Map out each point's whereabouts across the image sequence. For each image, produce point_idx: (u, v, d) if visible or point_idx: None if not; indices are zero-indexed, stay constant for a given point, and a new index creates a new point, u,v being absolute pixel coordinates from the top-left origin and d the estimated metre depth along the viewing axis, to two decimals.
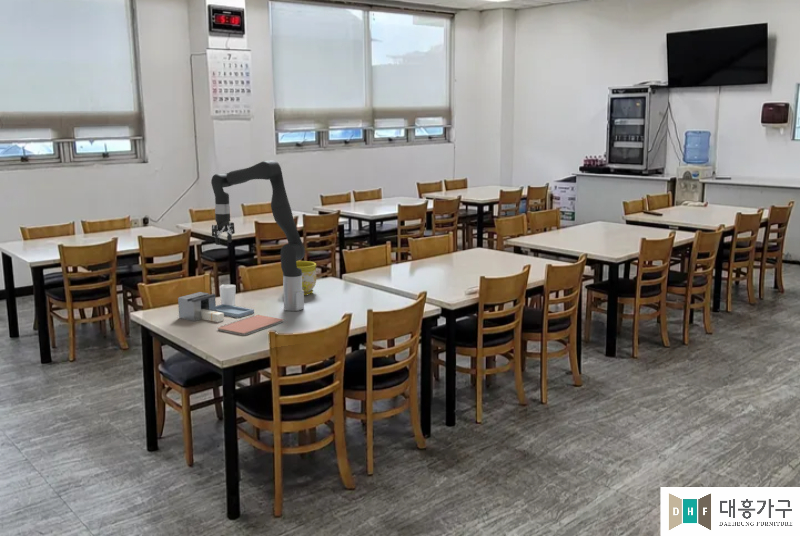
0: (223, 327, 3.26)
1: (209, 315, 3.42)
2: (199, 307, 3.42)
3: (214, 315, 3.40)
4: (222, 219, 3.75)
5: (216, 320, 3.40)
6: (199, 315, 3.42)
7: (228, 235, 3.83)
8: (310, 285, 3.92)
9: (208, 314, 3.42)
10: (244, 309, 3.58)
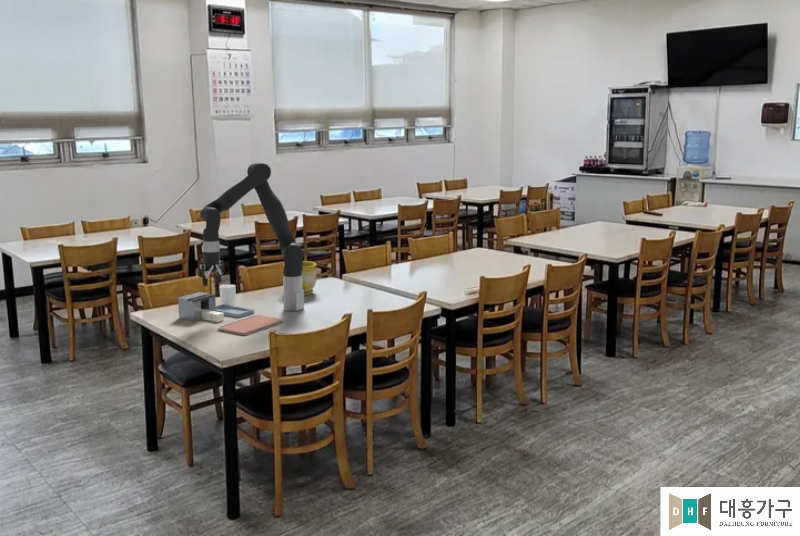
0: (223, 327, 3.26)
1: (209, 315, 3.42)
2: (199, 307, 3.42)
3: (214, 315, 3.40)
4: (211, 258, 3.35)
5: (216, 320, 3.40)
6: (199, 315, 3.42)
7: (217, 275, 3.44)
8: (310, 285, 3.92)
9: (208, 314, 3.42)
10: (244, 309, 3.58)
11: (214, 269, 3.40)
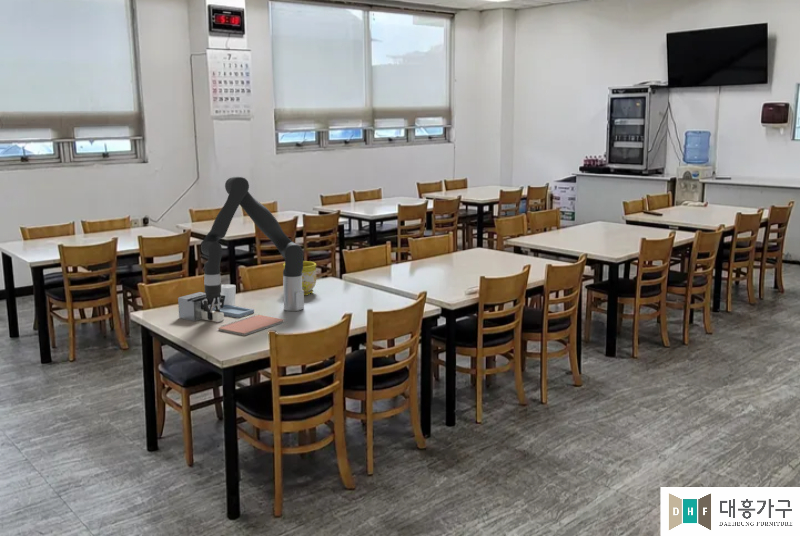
0: (224, 327, 3.26)
1: None
2: (199, 307, 3.42)
3: (214, 315, 3.40)
4: (212, 291, 3.37)
5: (216, 320, 3.40)
6: (199, 315, 3.42)
7: (216, 310, 3.44)
8: (310, 285, 3.92)
9: None
10: (244, 309, 3.58)
11: (216, 302, 3.42)
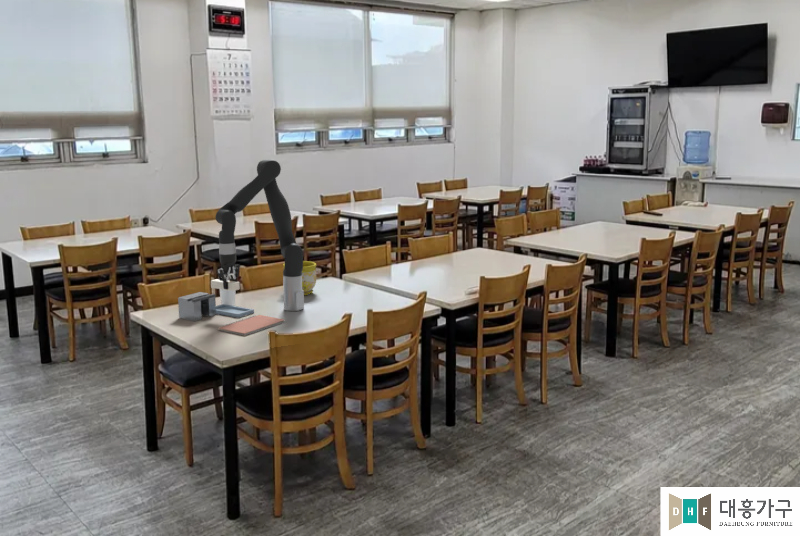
0: (224, 327, 3.26)
1: None
2: (199, 307, 3.42)
3: (230, 284, 3.41)
4: (228, 260, 3.38)
5: (232, 289, 3.41)
6: (199, 315, 3.42)
7: (231, 279, 3.45)
8: (310, 285, 3.92)
9: None
10: (244, 309, 3.58)
11: (231, 271, 3.42)
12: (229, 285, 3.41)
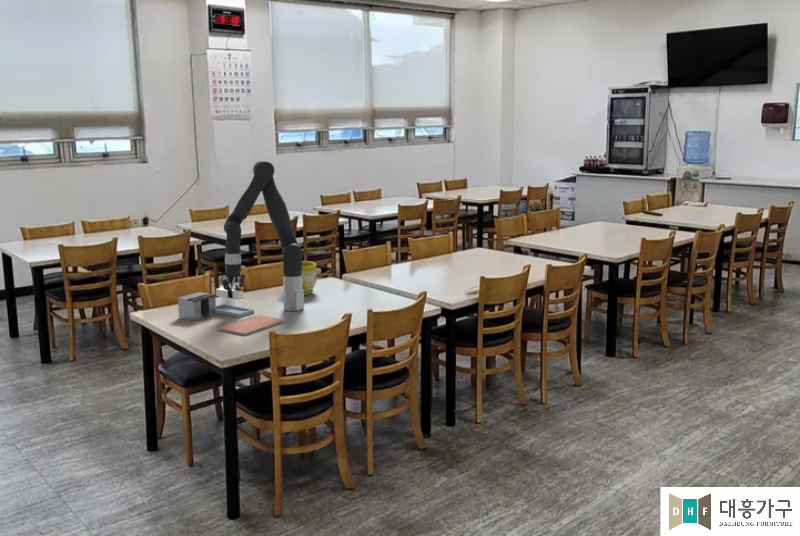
0: (224, 327, 3.26)
1: None
2: (199, 307, 3.42)
3: (234, 293, 3.50)
4: (233, 270, 3.47)
5: (236, 298, 3.50)
6: (199, 315, 3.42)
7: (236, 288, 3.55)
8: (310, 285, 3.92)
9: None
10: (244, 309, 3.58)
11: (236, 280, 3.52)
12: (233, 294, 3.51)
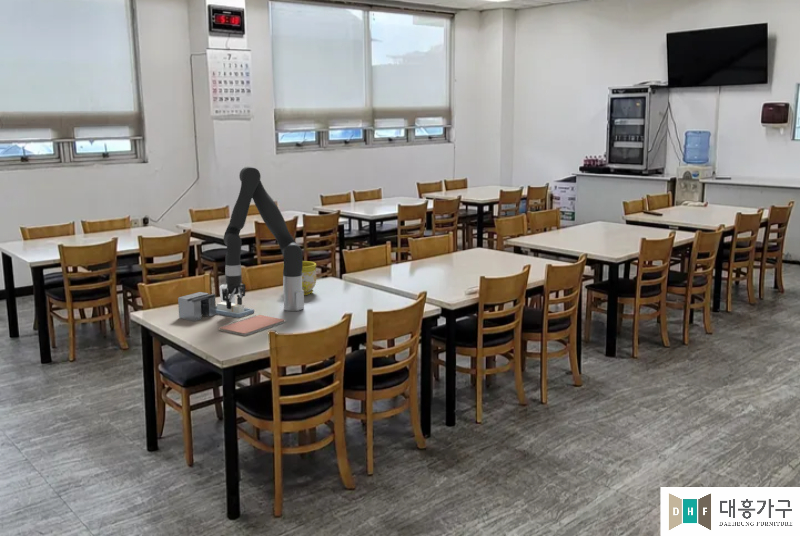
0: (224, 327, 3.26)
1: None
2: (199, 307, 3.42)
3: (235, 307, 3.52)
4: (233, 281, 3.48)
5: (237, 312, 3.52)
6: (199, 315, 3.42)
7: (238, 298, 3.57)
8: (310, 285, 3.92)
9: None
10: (244, 309, 3.58)
11: (236, 292, 3.53)
12: (234, 308, 3.52)
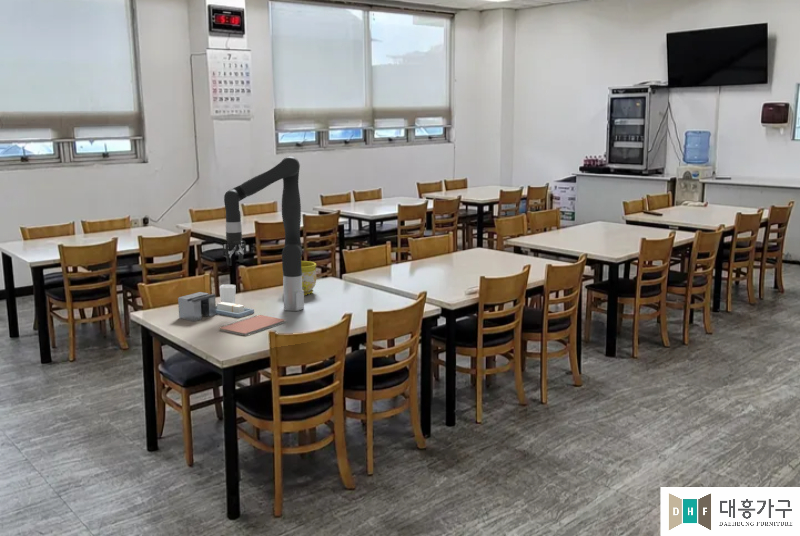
0: (225, 327, 3.26)
1: (230, 307, 3.53)
2: (199, 307, 3.42)
3: (235, 307, 3.52)
4: (234, 238, 3.52)
5: (237, 312, 3.52)
6: (199, 315, 3.42)
7: (239, 254, 3.60)
8: (310, 285, 3.92)
9: (229, 306, 3.54)
10: (244, 309, 3.58)
11: (237, 249, 3.56)
12: (234, 308, 3.52)
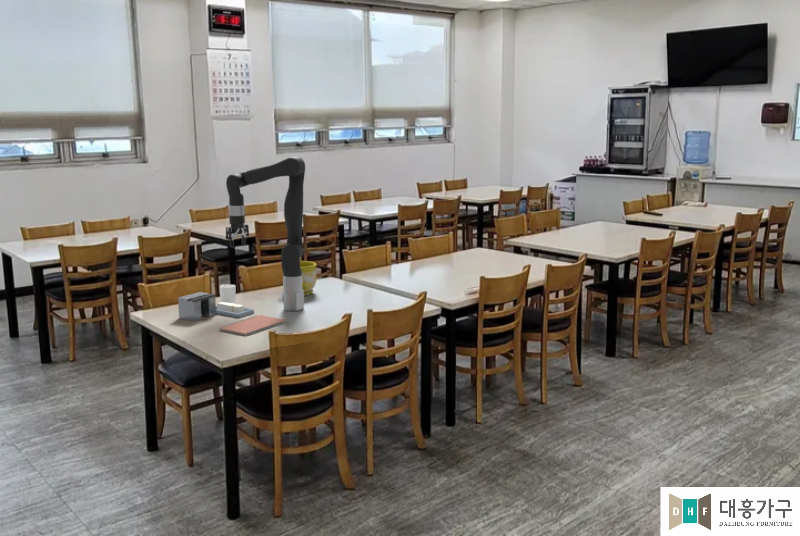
0: (225, 327, 3.26)
1: (230, 307, 3.53)
2: (199, 307, 3.42)
3: (235, 307, 3.52)
4: (237, 221, 3.60)
5: (237, 312, 3.52)
6: (199, 315, 3.42)
7: (242, 238, 3.69)
8: (310, 285, 3.92)
9: (229, 306, 3.54)
10: (244, 309, 3.58)
11: (239, 232, 3.64)
12: (234, 308, 3.52)
